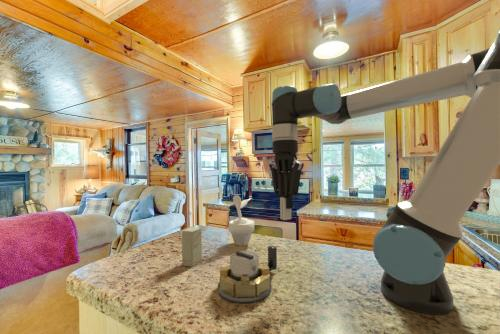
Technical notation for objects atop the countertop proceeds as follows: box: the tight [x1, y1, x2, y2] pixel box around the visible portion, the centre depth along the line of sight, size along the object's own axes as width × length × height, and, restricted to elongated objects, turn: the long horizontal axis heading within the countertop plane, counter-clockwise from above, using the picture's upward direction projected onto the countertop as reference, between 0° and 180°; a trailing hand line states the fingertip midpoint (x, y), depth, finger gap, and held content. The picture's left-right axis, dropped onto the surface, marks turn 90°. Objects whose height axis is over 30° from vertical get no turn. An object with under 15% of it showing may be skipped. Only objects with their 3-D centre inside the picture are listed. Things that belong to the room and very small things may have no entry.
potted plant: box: [228, 189, 255, 247], centre depth 102 cm, size 13×12×25 cm
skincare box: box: [181, 226, 203, 268], centre depth 82 cm, size 6×4×12 cm
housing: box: [217, 250, 273, 305], centre depth 64 cm, size 15×15×10 cm
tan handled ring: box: [219, 245, 278, 297], centre depth 67 cm, size 21×14×7 cm, turn 138°
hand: (285, 218), depth 68 cm, fingers closed
